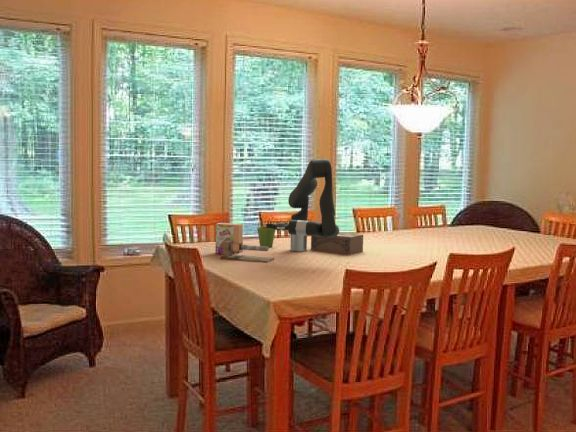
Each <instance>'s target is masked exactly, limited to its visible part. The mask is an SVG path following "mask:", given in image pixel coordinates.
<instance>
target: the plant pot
mask: <svg viewBox="0 0 576 432" xmlns="http://www.w3.org/2000/svg"><path fill="white" fill-rule="evenodd" d="M256 231H257V236H258V243H259V246H265V247H268V249H269V248H272V247H273V245H274V239H275V233H276V230H275V229H273V228H266V226H257V227H256Z"/></svg>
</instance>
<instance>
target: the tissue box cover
mask: <svg viewBox="0 0 576 432" xmlns="http://www.w3.org/2000/svg"><path fill="white" fill-rule="evenodd" d="M310 250H312V251H317V250H318V252H324V251H325V252H327V253H332V252H333V254H339V253H340V255H347V254H349V255H348V256H351V254H352V255H355V253H356V254H360V253H363V252H364V234H359V233H358V234H357V233H350V232H342V231H339V233H338V235H337V236H335V237H323V236H310ZM359 252H360V253H359Z"/></svg>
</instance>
